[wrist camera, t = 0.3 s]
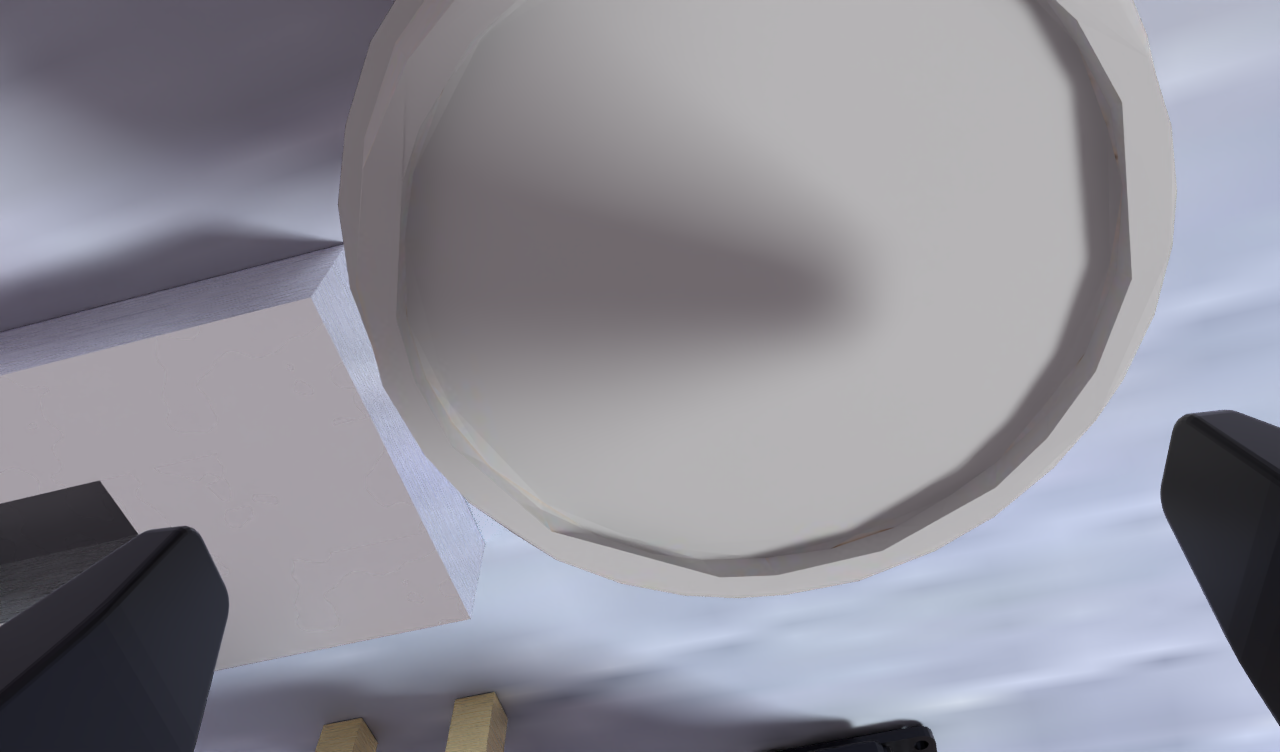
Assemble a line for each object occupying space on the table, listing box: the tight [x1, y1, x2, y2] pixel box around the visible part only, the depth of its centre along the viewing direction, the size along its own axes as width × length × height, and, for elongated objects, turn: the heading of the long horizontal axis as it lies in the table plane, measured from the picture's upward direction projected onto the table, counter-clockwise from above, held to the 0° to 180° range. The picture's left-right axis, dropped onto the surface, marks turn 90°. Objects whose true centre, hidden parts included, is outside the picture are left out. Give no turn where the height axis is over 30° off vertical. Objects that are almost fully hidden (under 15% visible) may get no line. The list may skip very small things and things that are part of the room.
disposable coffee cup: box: [338, 0, 1177, 598], centre depth 15 cm, size 10×10×12 cm
